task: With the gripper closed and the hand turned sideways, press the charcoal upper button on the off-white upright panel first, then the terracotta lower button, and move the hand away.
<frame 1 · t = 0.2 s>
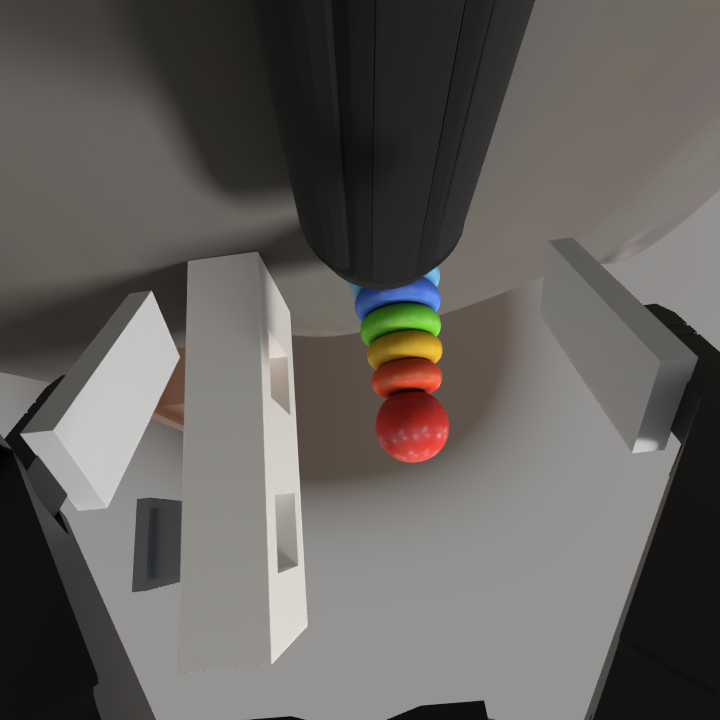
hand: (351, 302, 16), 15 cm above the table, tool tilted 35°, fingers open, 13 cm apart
upper button: (201, 537, 38), point 22 cm above the table, slide at 0.0 cm
stacking toy: (387, 224, 38), on the table
button panel: (245, 289, 45), on the table
lower button: (203, 384, 43), point 9 cm above the table, slide at 0.0 cm
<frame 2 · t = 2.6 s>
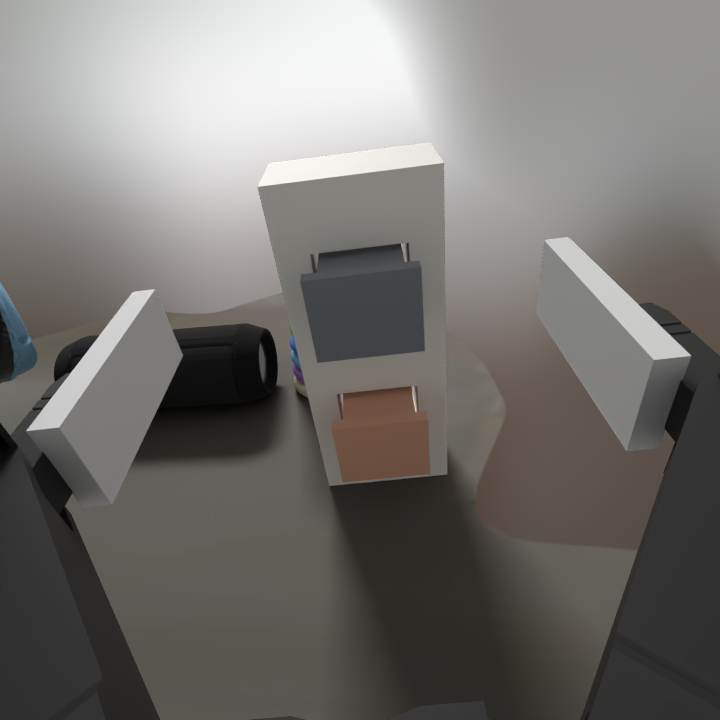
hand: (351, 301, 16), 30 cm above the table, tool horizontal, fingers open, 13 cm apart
upper button: (364, 293, 34), point 22 cm above the table, slide at 0.0 cm
stacking toy: (325, 383, 62), on the table
portable speaker: (184, 399, 63), on the table
button panel: (385, 457, 50), on the table
lower button: (380, 423, 42), point 9 cm above the table, slide at 0.0 cm
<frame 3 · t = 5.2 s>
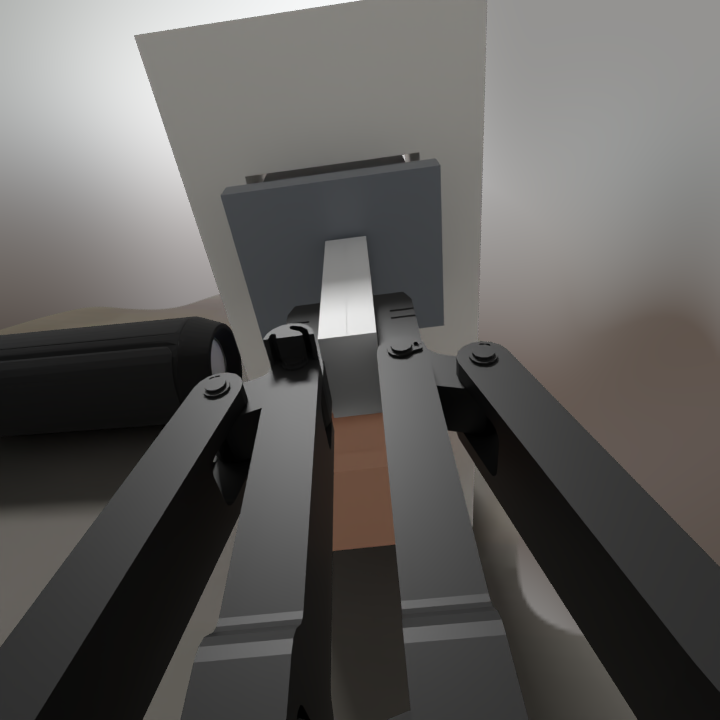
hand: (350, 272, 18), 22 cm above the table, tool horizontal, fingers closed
upper button: (342, 233, 21), point 22 cm above the table, slide at 1.5 cm, touching gripper
portable speaker: (121, 417, 48), on the table
button panel: (384, 500, 36), on the table
lower button: (374, 458, 27), point 9 cm above the table, slide at 0.0 cm
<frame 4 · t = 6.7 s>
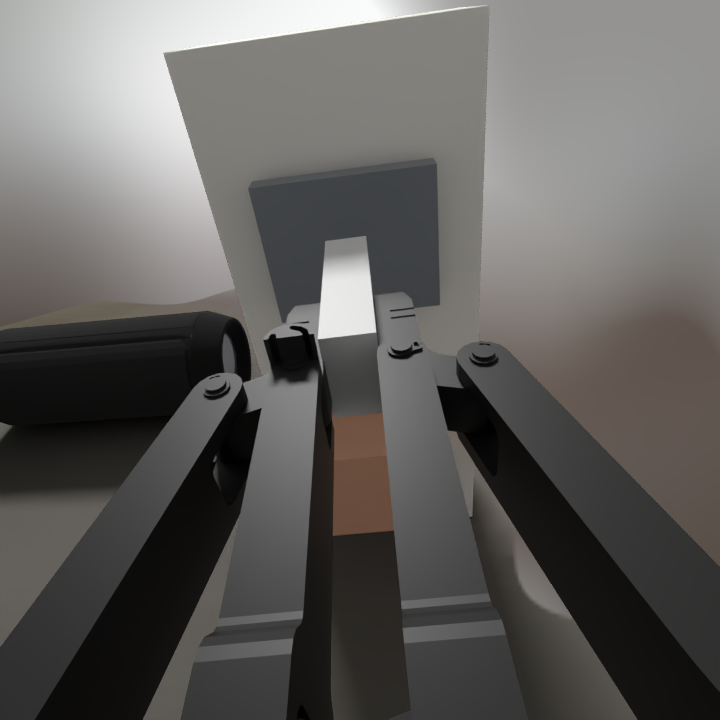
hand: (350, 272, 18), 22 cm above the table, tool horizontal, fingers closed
upper button: (351, 223, 24), point 22 cm above the table, slide at 3.1 cm
portable speaker: (134, 408, 50), on the table
button panel: (387, 490, 37), on the table
lower button: (379, 449, 29), point 9 cm above the table, slide at 0.0 cm
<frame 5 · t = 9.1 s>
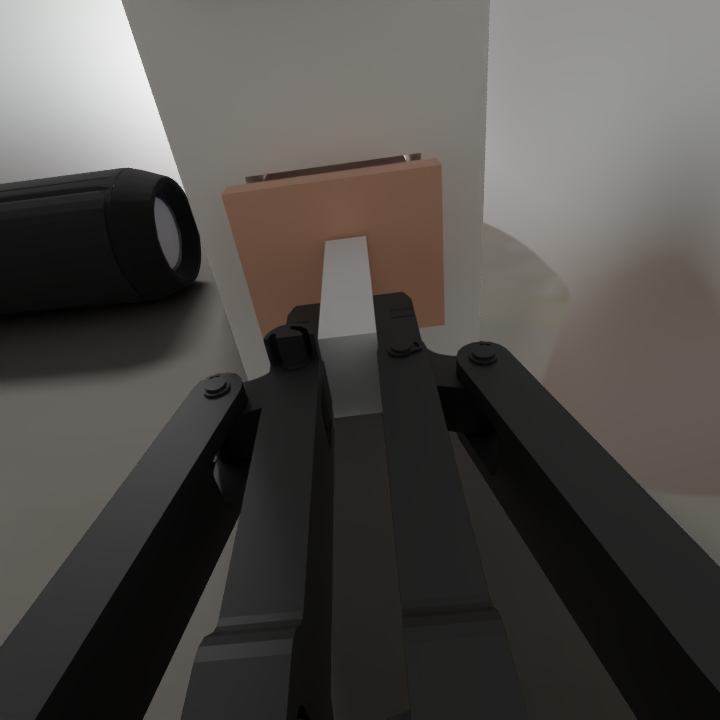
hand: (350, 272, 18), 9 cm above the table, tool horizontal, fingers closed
portable speaker: (57, 307, 41), on the table
button panel: (364, 363, 28), on the table
lower button: (342, 232, 21), point 9 cm above the table, slide at 1.6 cm, touching gripper
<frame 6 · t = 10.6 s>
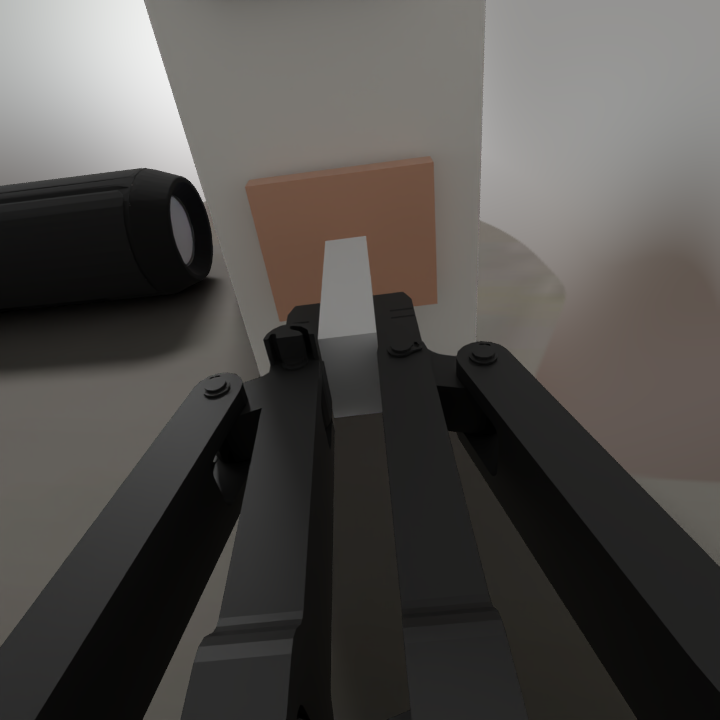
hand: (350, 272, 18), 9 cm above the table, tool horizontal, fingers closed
portable speaker: (75, 301, 43), on the table
button panel: (368, 356, 30), on the table
lower button: (348, 221, 24), point 9 cm above the table, slide at 3.1 cm
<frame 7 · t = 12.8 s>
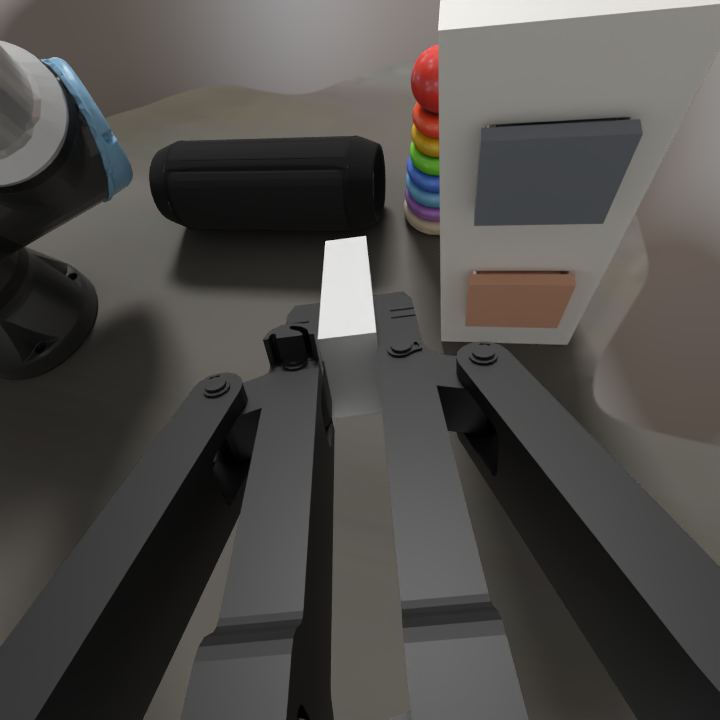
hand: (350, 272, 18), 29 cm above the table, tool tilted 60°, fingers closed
upper button: (544, 141, 28), point 22 cm above the table, slide at 3.1 cm
stacking toy: (438, 212, 55), on the table
portable speaker: (283, 217, 59), on the table
button panel: (502, 316, 48), on the table
lower button: (514, 271, 39), point 9 cm above the table, slide at 3.1 cm
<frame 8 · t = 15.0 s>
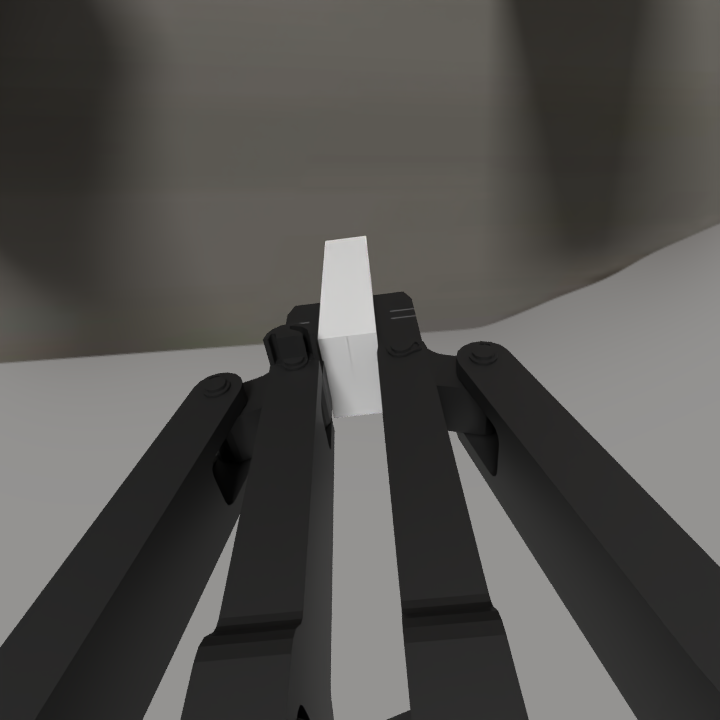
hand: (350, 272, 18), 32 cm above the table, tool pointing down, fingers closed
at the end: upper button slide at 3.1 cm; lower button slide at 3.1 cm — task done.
